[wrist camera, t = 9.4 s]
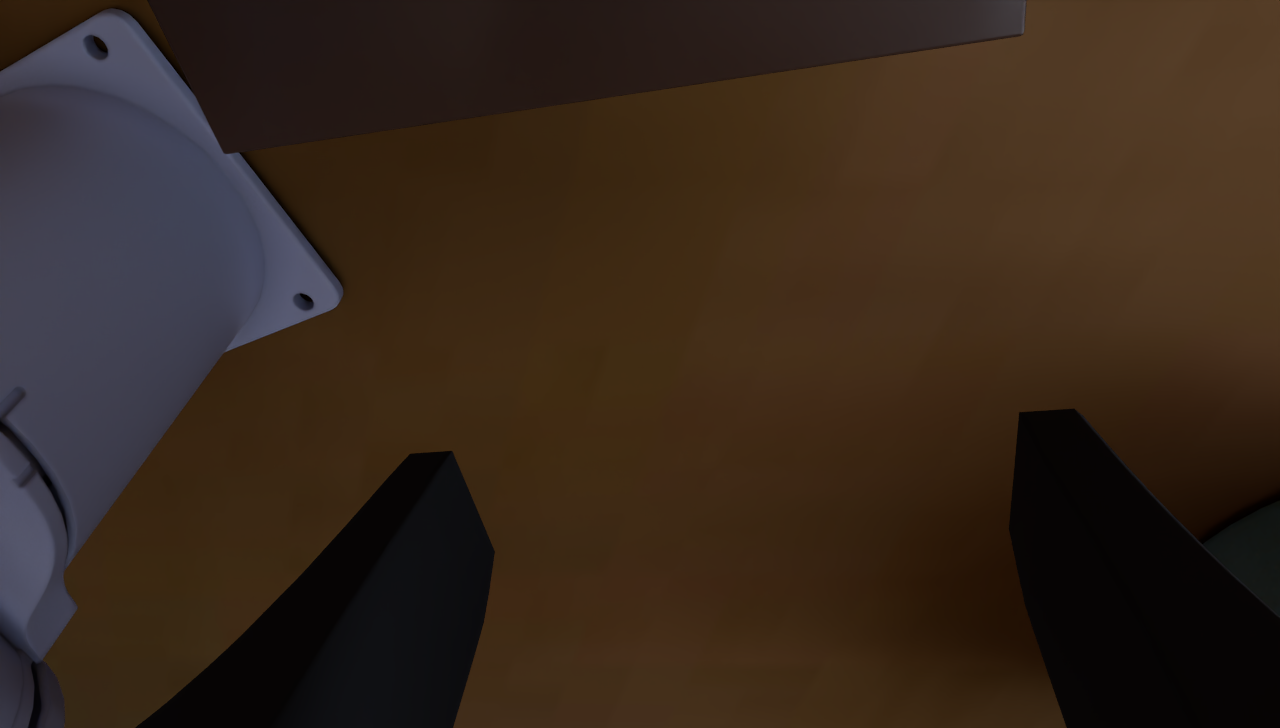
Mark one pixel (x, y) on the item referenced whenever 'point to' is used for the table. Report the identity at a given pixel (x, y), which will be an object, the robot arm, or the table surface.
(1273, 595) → the flower pot
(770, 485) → the table surface
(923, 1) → the step shelf
